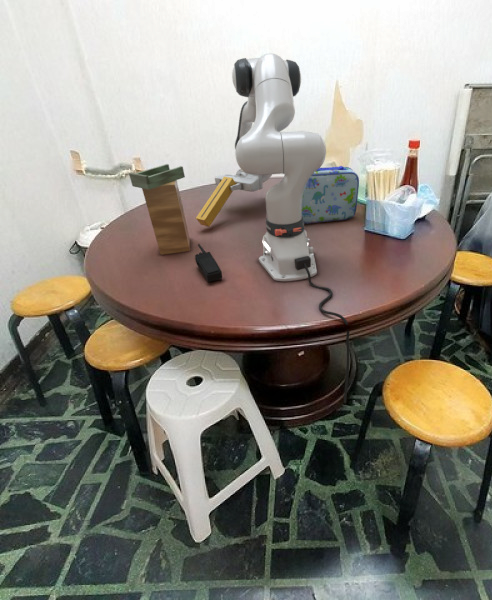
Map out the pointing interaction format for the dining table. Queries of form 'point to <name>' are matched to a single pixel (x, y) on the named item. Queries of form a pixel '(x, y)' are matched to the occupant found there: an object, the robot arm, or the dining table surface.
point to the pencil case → (215, 202)
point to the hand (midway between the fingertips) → (224, 187)
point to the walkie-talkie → (208, 265)
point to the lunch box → (330, 195)
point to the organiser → (164, 206)
